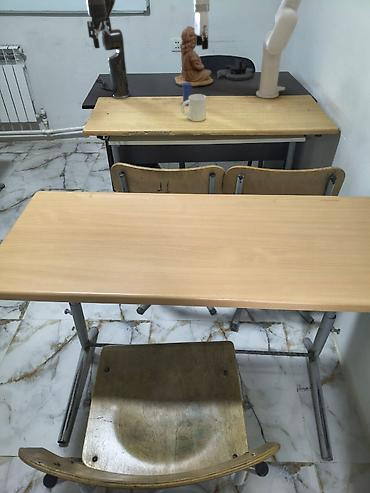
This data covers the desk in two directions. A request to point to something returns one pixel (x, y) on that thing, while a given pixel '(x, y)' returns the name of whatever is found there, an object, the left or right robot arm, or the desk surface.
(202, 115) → the mug
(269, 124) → the desk surface
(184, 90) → the can
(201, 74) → the sculpture
